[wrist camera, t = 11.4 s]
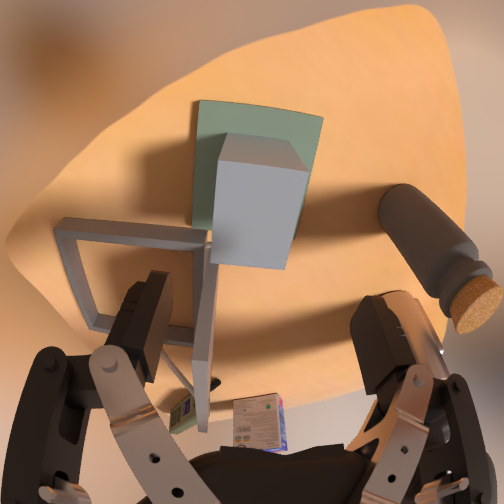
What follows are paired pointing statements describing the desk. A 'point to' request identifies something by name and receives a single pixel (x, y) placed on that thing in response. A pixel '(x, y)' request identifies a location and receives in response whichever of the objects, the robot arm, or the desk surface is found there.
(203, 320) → the case
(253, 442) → the ink cartridge box
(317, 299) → the desk surface
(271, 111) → the mat
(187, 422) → the handheld radio
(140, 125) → the desk surface
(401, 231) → the bottle
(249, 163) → the block
